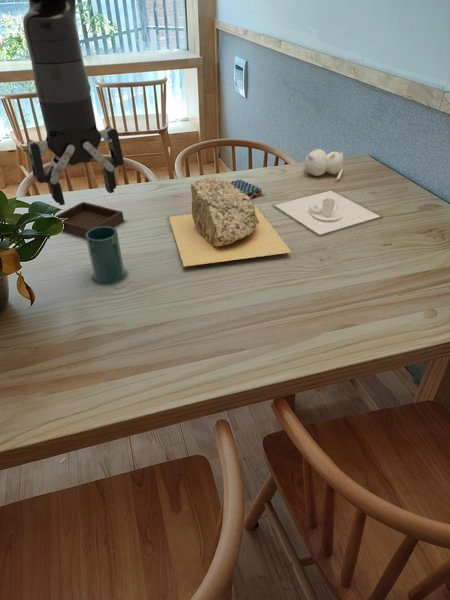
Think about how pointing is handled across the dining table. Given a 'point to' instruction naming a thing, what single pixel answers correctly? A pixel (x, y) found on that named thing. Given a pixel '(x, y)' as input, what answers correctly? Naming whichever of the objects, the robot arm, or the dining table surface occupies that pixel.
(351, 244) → the dining table surface
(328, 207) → the teacup and saucer
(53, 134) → the robot arm
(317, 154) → the cat figurine
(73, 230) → the tray
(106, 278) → the cup
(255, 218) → the rock
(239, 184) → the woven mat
